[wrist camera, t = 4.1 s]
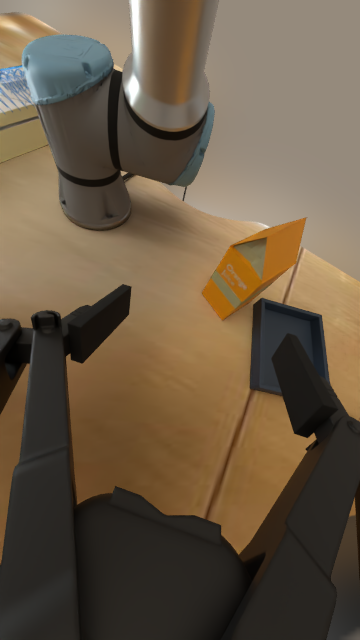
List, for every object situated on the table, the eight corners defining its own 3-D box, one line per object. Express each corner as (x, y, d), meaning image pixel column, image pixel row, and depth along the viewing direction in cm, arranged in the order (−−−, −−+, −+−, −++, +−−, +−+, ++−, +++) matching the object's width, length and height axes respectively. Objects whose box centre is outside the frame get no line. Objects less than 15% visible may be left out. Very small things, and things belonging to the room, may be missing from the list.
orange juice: (250, 302, 44) (327, 236, 26) (222, 321, 41) (289, 260, 23) (229, 276, 46) (288, 197, 28) (200, 292, 43) (247, 214, 25)
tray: (253, 304, 44) (261, 297, 41) (309, 320, 46) (321, 315, 43) (249, 388, 37) (259, 387, 34) (317, 404, 38) (332, 404, 35)
